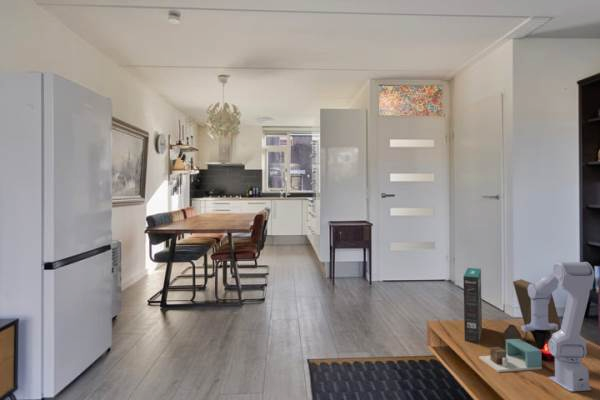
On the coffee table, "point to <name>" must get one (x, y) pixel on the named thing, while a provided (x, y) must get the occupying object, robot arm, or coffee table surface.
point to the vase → (511, 333)
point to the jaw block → (497, 354)
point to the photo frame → (525, 306)
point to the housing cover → (524, 352)
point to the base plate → (508, 363)
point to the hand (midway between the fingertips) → (540, 347)
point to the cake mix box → (472, 305)
